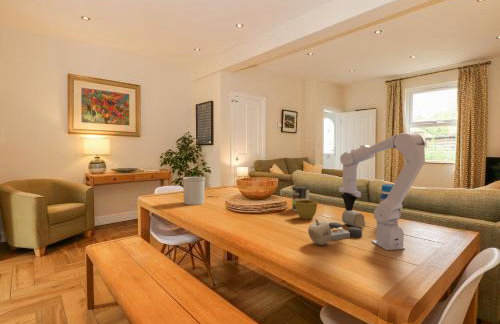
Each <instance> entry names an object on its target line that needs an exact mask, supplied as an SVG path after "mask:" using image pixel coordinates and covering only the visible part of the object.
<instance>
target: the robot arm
mask: <svg viewBox="0 0 500 324" xmlns="http://www.w3.org/2000/svg"><path fill="white" fill-rule="evenodd" d="M426 144H427V143H426V141H425V140H424V138H423V137H422V135H420V134H418V133H407V132H401V133H399V134H396V135H395V134H394V135H392V136H390V137H388V138H386V139H383V140H381V141H379V142H377V143H375V144H373V145H366V144H362V145H360V147H359V148H357V149H351V150H350V152H348V151H347V152H346V151H344V152H343V153H342V154H341V155H340V157H339V160H340V163H341V165H342V187H341V186H339V187H338V192H339V193H341V196H340V197H341V198H342V199H343V202H344V205H345V210H347V211H352V210H354V209H353V208H354V205H355V202H356V201H357V198H361V197H362V192H361V191H359V190H357V180H358V179H357V178H358V177H357V176H358V175H357V173H358V172H357V170H358V165H359V163H362V162H365V161H367V160H370V159H372V158H373V157H374V155H375V154H378V153H380V152H383V151H386V150H389V149H396V150H397V151H398V152H399V153H400V154H401V155H403V158H404V160H405V163H404V165H403V167H402V169H401V170H400V172H399V174H398V175H397V178H396V180H395V182H394V183H393V184H392V185H393V187H392V189H391V191H390V193H389V194H388V196H387V198H386V199H385V200H384V201H382V202H381V204H380V205H378V206H377V207H375V209H374V210H373V218H374V219H375V221H376V239H374V240H371V243H373V244H375V245H377V246H378V247H380V248H382V249H384V250H386V251H391V250H392V251H393V250H395V251H396V250H405V249H406V247H405V246H404V237H405V236H404V235H405V233H404V229H403V228H401V226H399V219H400V217H401V216H402V209H403V207H404V205H403V204H402V203H403V201H404V199H405V198H406V196H407V195H408V193H409V191H410V189H411V187H412V185H413V184H414V182H415V180H416V179H417V176H418V175H419V173H420V171H421V170H422V168H423V166H424V164H425V162H426V155H425V150H426V149H425V147H426ZM397 223H398V224H397Z"/></svg>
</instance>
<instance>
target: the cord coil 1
mask: <svg viewBox="0 0 500 324" xmlns="http://www.w3.org/2000/svg"><path fill="white" fill-rule="evenodd" d="M328 225H329V226H330V228H331V229H333V228H339V227H341V228H342V223H340V222H328Z"/></svg>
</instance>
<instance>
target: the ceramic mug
mask: <svg viewBox="0 0 500 324" xmlns="http://www.w3.org/2000/svg"><path fill="white" fill-rule="evenodd" d="M341 219H342V222H343V224H345V225H347V226H350V227H357V228H360V227H362V226H365V225H366V222H367V221H365V216H364V214H363V213H361V212H359V211H356V210H354V209H352V211H347V210H346V209H345V210H344V211H343V212H342V214H341Z"/></svg>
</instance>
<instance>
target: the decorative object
mask: <svg viewBox="0 0 500 324" xmlns="http://www.w3.org/2000/svg"><path fill="white" fill-rule="evenodd" d="M307 231H308V236H309V238H310V239H311V241H312V243H314V244H315V245H318V246H319V245H320V246H324V245H326V244H328V243H330V241H331V240H330V238H331V228H330V226H329V222H328V223H327V222H325V221H318V219H315V222H313V223H311V224H310V225H309V226H308V230H307Z"/></svg>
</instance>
